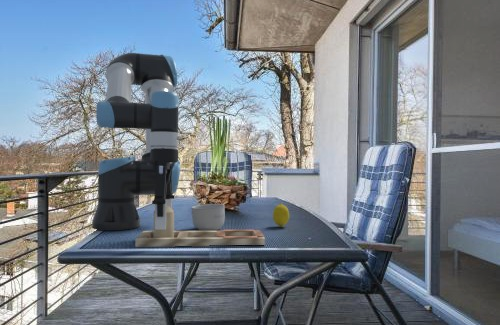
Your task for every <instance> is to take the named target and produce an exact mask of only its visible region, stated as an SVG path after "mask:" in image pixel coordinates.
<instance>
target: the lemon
mask: <svg viewBox="0 0 500 325" xmlns="http://www.w3.org/2000/svg"><path fill="white" fill-rule="evenodd" d="M272 219H273V222H274V223H275V224H276V225H277V226H278V227H280V228H282V227H283V226H285V225H286V224H288V222H289V220H290V211H289V208H288V207H287V206H286V205H284V204H283V203H279V204H278V205H277V206H275V207H274V209H273V213H272Z"/></svg>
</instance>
